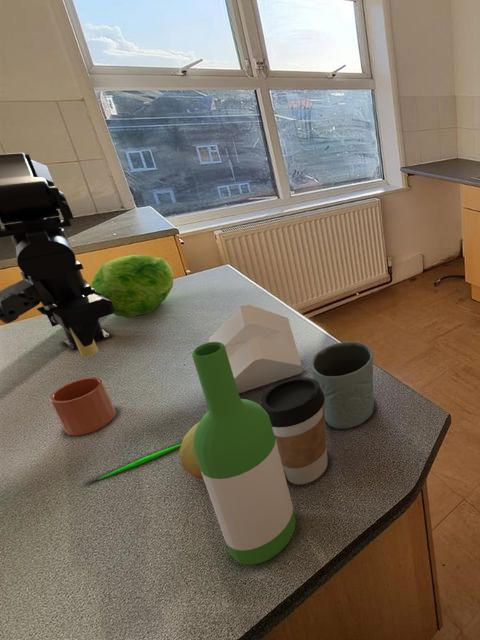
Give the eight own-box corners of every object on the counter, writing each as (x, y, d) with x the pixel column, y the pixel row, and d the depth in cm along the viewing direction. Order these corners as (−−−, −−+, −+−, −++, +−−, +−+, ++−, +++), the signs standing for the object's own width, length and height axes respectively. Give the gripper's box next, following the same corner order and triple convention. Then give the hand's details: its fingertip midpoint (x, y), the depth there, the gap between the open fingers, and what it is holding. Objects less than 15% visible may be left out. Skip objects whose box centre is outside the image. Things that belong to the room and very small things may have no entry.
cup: (59, 426, 74) (43, 393, 72) (106, 403, 80) (93, 372, 77) (74, 441, 71) (58, 408, 69) (122, 416, 77) (109, 385, 74)
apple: (274, 448, 71) (264, 410, 68) (219, 498, 62) (205, 457, 59) (229, 433, 74) (218, 395, 71) (171, 478, 65) (155, 438, 62)
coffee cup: (315, 497, 63) (297, 416, 57) (264, 486, 64) (242, 407, 58) (346, 452, 70) (333, 377, 65) (300, 443, 72) (284, 369, 66)
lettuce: (106, 295, 116) (179, 289, 125) (85, 334, 98) (172, 324, 107) (97, 244, 112) (173, 241, 120) (74, 276, 94) (165, 270, 102)
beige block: (226, 404, 85) (210, 373, 71) (215, 354, 89) (199, 315, 75) (302, 379, 92) (301, 346, 78) (289, 334, 96) (285, 295, 83)
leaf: (91, 482, 65) (89, 478, 64) (202, 436, 73) (201, 432, 73) (91, 486, 64) (89, 482, 64) (203, 439, 73) (202, 436, 72)
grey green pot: (341, 389, 84) (333, 337, 80) (389, 397, 82) (383, 345, 78) (309, 427, 75) (297, 371, 70) (361, 437, 73) (353, 380, 69)
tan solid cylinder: (79, 354, 75) (61, 314, 72) (95, 348, 77) (78, 308, 74) (84, 358, 74) (66, 317, 71) (100, 351, 76) (84, 311, 73)
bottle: (217, 569, 53) (142, 371, 42) (252, 511, 60) (196, 328, 49) (280, 569, 53) (222, 372, 42) (307, 511, 61) (264, 329, 49)
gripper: (-45, 265, 66) (-1, 350, 72) (-6, 293, 58) (40, 387, 64) (53, 244, 75) (85, 321, 81) (99, 265, 67) (131, 350, 73)
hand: (85, 343), depth 75 cm, fingers closed on tan solid cylinder, 2 cm apart
